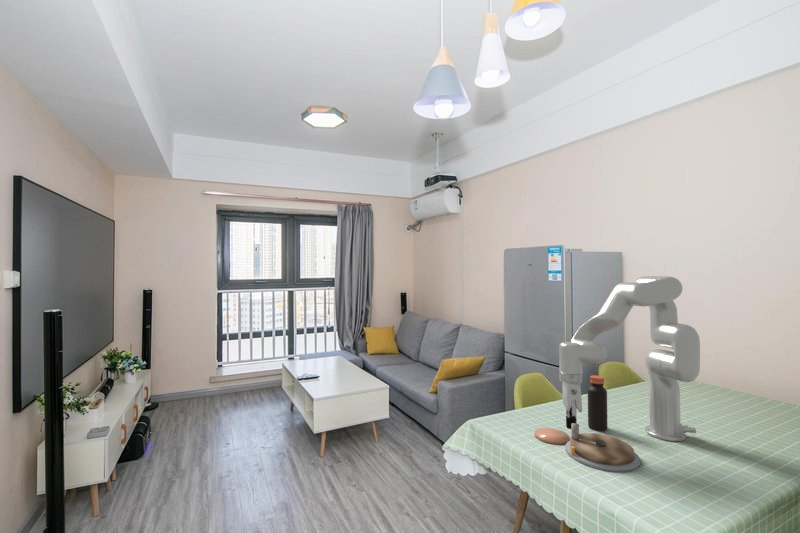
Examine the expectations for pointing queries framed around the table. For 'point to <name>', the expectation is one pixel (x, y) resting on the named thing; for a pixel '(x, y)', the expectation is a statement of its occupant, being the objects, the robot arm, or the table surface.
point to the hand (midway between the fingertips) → (571, 428)
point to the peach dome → (551, 436)
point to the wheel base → (606, 467)
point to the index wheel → (601, 447)
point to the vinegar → (597, 404)
